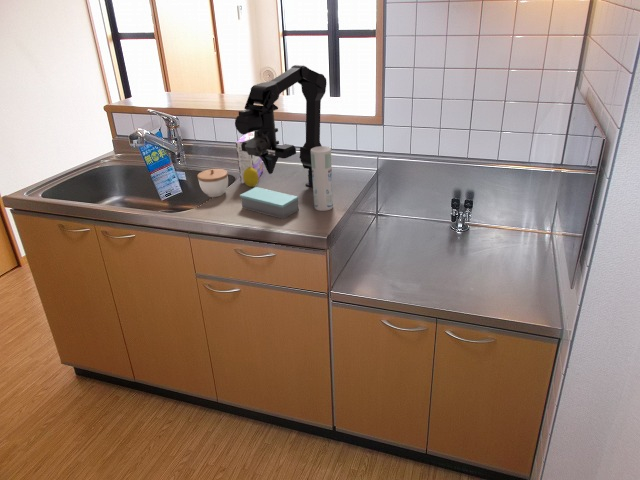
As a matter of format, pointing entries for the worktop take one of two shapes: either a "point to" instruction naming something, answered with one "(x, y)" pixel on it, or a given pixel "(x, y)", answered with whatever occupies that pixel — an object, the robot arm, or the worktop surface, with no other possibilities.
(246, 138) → the candy box
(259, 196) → the lid
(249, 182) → the lemon
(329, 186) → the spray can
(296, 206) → the grey rectangular box
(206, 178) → the lidded jar
